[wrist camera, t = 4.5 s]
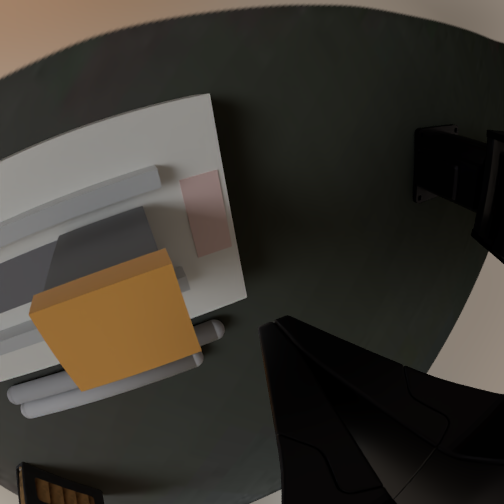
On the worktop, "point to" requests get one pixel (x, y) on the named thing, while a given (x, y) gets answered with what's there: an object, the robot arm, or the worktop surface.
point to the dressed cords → (69, 395)
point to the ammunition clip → (52, 488)
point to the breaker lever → (112, 303)
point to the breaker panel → (116, 210)
